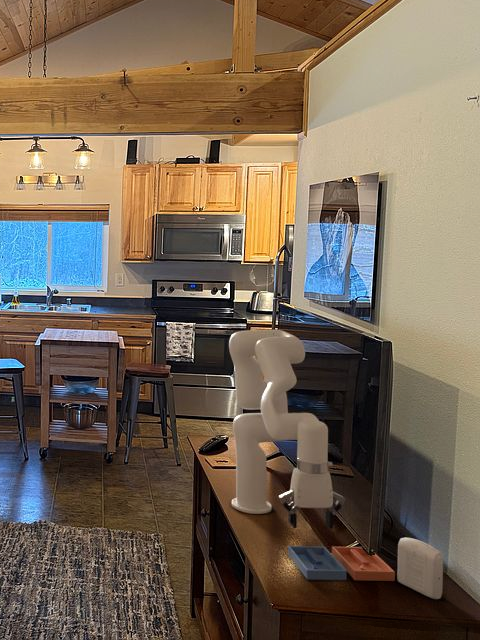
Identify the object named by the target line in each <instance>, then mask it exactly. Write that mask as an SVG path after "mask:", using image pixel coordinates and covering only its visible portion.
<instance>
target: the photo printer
mask: <svg viewBox="0 0 480 640" xmlns="http://www.w3.org/2000/svg"><path fill="white" fill-rule="evenodd" d="M396 573H397V577H396V578H397V582H398V583H400V584H402V585H403V586H406V587H408V588H409V589H412V590H414V591H416V592H418V593H420V594H421V595H424V596H426V597H428V598H430V599H433V600H439V599H441V598H442V595H443V585H444V583H443V582H444V581H443V580H444V575H443V574H444V556H443V554H442V552H441V551H439V550H438V549H436V548H435V547H433V546H432V545H430V544H429V543H426V542H424V541H422V540H420V539H416V538H411V537H401V538H400V539H399V541H398V544H397V572H396Z"/></svg>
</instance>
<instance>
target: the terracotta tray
mask: <svg viewBox="0 0 480 640" xmlns="http://www.w3.org/2000/svg"><path fill="white" fill-rule="evenodd" d="M362 547H363V546H331V554H332V555H333V556H334V558H335V559H336V560H337V561H338V562H339V563H340V564H341V565H342V566H343V567H344V569H345V570H346V571H347V574H348V575H349V576H350V577H351V578H352V579H353V580H354V581H367V582H368V581H369V582H370V581H371V582H372V581H376V582H377V581H378V582H395V577H396V573H395V571H394V569H392V567H390V566H389V564H387V563H386V562H385V561H384V560H383V559H382V558H381V557H380V556H378V554H377V553H375V555H372V556H370V555H368V554H367V553H366V552H365V551H364V550H363V548H362ZM350 549H353V550H357V551H358V552H359V553H360V554H361V555H362V556H363V557H364V558H365V559H366V560H367V561H368V562H369V565H372V566H375V567H376V568H377V571H372V570H361V567H360V566H359V565H358V564H357V563H356V562H355V561H354V560H353V559H352V558H351V557H350Z"/></svg>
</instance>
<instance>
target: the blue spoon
mask: <svg viewBox="0 0 480 640" xmlns="http://www.w3.org/2000/svg"><path fill="white" fill-rule="evenodd" d="M306 557H307V558H308V559H309V560H310V562H311V563H312V564H313V565H314V569H316V570H330V568H329V566H327V565H325V564H322V561H321V560H320V558H319V557H318V556H317V555H316V554H315V553H314V552H313V550H312V549H306Z"/></svg>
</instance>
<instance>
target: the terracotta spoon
mask: <svg viewBox="0 0 480 640" xmlns="http://www.w3.org/2000/svg"><path fill="white" fill-rule="evenodd" d="M350 557H351V558H352V559H353V560H354V561H355V562H356V563H357V564H358V565H359V566H360V567H361V570H372V571H377V568H376V567H375V566H372V565H369V562H368V561H367V560H366V559H365V558H364V557H363V556H362V555H361V554H360V553H359V552H358V551H357V550H353V549H350Z"/></svg>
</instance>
